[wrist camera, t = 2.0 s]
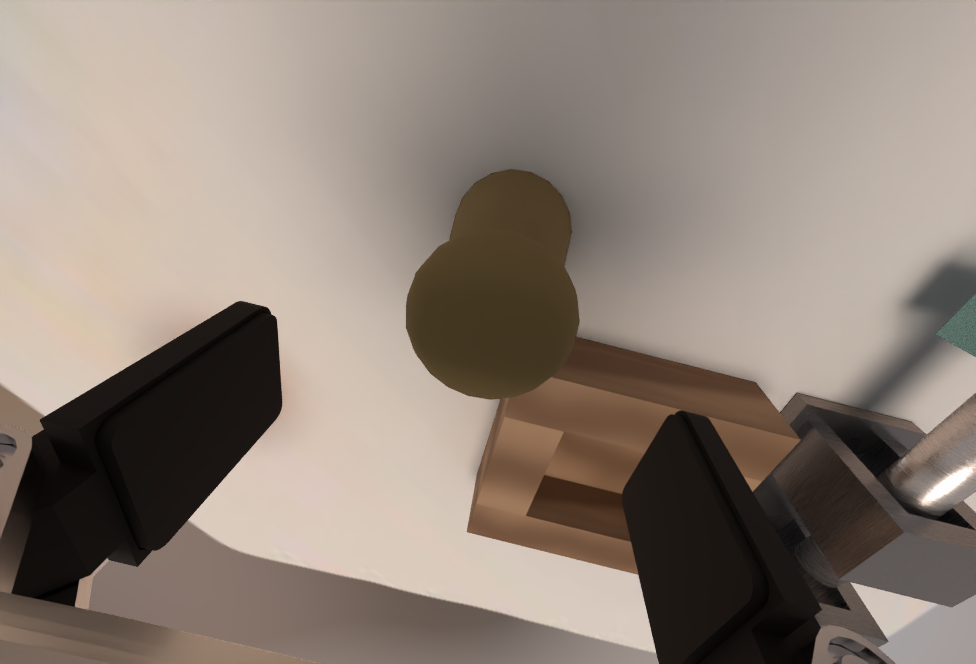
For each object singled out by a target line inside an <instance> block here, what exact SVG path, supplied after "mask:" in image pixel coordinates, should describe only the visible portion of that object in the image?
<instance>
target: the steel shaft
mask: <svg viewBox="0 0 976 664" xmlns="http://www.w3.org/2000/svg"><path fill="white" fill-rule="evenodd" d="M936 335H938V336H940V337H941V338H943V339H945V340H947V341H948V342H950V343H952V344H954V345H955V346H957V347H959V348H961V349H962V350H964V351H966V352H968V353H969V354H971V355H973V356H975V357H976V294H975V295H974V296H973V297H972V298H971V299H970V300H969V301H968V302H967V303H966V304H965V305H964V306H963V307H962V308H961V309H960V310H959V311H958V312H957V313H956V314H955V315H954V316H953V317H952V318H951V319H950V320H949V321H948V322H947V323H946V324H945V325H944V326H943V327H942V328H941V329H940V330H939V331H938V332H937V333H936ZM876 479H877V480H878V481H879V482H880V483H881V484H882V485H883V486H884V487H885V489H886V490H887V491H888V492H889V493H890V494H891V495H892V496H893V497H894V498H895V500H896V501H897V502H898V503H899V504H900V505H901V506H902V507H903V508H904V510H905V511H906V512H907V513H908V514H912V515H916V516H920V517H924V518H928V519H932V520H936V519H937V518H939V517H940V516H942V515H943V514H944V513H946V512H947V511H949V510H950V509H952V508H953V507H954V506H956V505H957V504H959V503H960V502H962V501H963V500H964V499H966V498H967V497H969V496H970V495H972V494H973V493H974V492H976V393H975V394H974V395H972V396H971V397H970V398H969V399H968V400H967V401H965V402H964V403H963V404H962V405H961V406H960V407H958V408H957V409H956V410H955V411H954V412H953V413H951V414H950V415H949V416H948V417H947V418H946V419H944V420H943V421H942V422H941V423H940V424H939V425H937V426H936V427H935V428H934V429H933V430H932V431H930V432H929V433H928V434H927V435H926V436H925V437H923V438H922V439H921V440H920V441H919V442H918V443H916V444H915V445H914V446H913V447H912V448H911V449H909V450H908V451H907V452H906V453H905V454H904V455H902V456H901V457H900V458H899V459H898V460H897V461H895V462H894V463H893V464H892V465H891V466H890V467H888V468H887V469H886V470H885V471H884V472H882V473H881V474H880V475H879V476H878V477H877V478H876ZM795 555H796V558H797V560H798V561H799V563H800V564H801V566H802V567H803V568H804V569H805V571H806V572H807V573H808V574H809V575H811V576H812V577H813V578H814V579H815V580H817V581H818V582H820V583H822V584H823V585H825V586H828V587H831V588H839V587H841V586H842V585H843V584H845V583H846V582H848V581H844V580H840V579H839V578H838V577H837V575H836V573H835V572H834V570H833V569H832V567H831V565H830V564H829V562H828V561H827V559H826V558H825V556H824V554H823V553H822V551H821V550H820V548H819V547H818V545H817V543H816V542H815V540H814V539H813V537H812V536H811V534H810V535H809V536H808V537H807V538H805V539H804V540H803V541H802V542H801V543H800V544H798V545H797V546H796V547H795Z"/></svg>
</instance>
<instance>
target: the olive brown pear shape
mask: <svg viewBox="0 0 976 664" xmlns="http://www.w3.org/2000/svg"><path fill="white" fill-rule="evenodd" d="M571 233H572V230H571V220H570V212H569V210H568V208H567V206H566V204H565V201H564V199H563V197H562V195H561V194H560V193H559V192H558V191H557V190H556V189H555V188H554V187H553V186H552V185H551V184H550V182H549V181H547V180H545V179H543V178H541V177H539V176H537V175H535V174H533V173H531V172H526V171H518V170H506V171H501V172H496V173H492V174H490V175H488V176H486V177H485V178H483V179H481V180H480V181H478V182H476V183H475V184H474V185H473V186H472V187H471V189H470V190H469V191H468V192H467V193H466V194H465V196H464V197H463V198H462V200H461V203H460V205H459V208H458V210H457V213H456V215H455V219H454V223H453V227H452V231H451V235H450V239H449V241H448V242H446V243H444V244H443V245H441V246H439V247H438V248H437V249H436V250H435V251H434V252H433V254H432V255H431V256H430V257H429V258H428V259H427V260H426V261H425V263H424V264H423V265H422V266H421V267H420V268H419V270H418V271H417V272H416V274H415V277H414V280H413V282H412V285H411V288H410V290H409V293H408V296H407V303H406V329H407V332H408V335H409V337H410V340H411V343H412V346H413V349H414V351H415V353H416V354H417V356H418V358H419V359H420V360H421V362H422V363H423V364H424V366H425V367H426V368H427V370H428V371H429V372H430V374H432V375H433V376H434V377H436V378H437V379H438V380H439V381H441V382H442V383H443V384H445V385H446V386H447V387H449V388H451V389H454V390H456V391H458V392H461V393H463V394H465V395H468V396H473V397H479V398H485V399H502V398H513V397H516V396H518V395H521V394H524V393H527V392H530V391H532V390H534V389H536V388H537V387H539V386H540V385H541V384H543V383H544V382H545V381H547V380H548V379H550V378H551V377H552V376H554V375H555V374H556V373H557V372H558V371H559V369H560V368H561V367H562V365H563V364H564V362H565V361H566V360H567V358H568V357H569V355H570V354H571V351H572V348H573V345H574V341H575V337H576V334H577V330H578V326H579V323H580V322H579V311H578V301H577V294H576V290H575V287H574V285H573V283H572V281H571V279H570V277H569V275H568V273H567V271H566V269H565V267H564V264H565V260H566V255H567V251H568V246H569V242H570V238H571Z"/></svg>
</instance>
